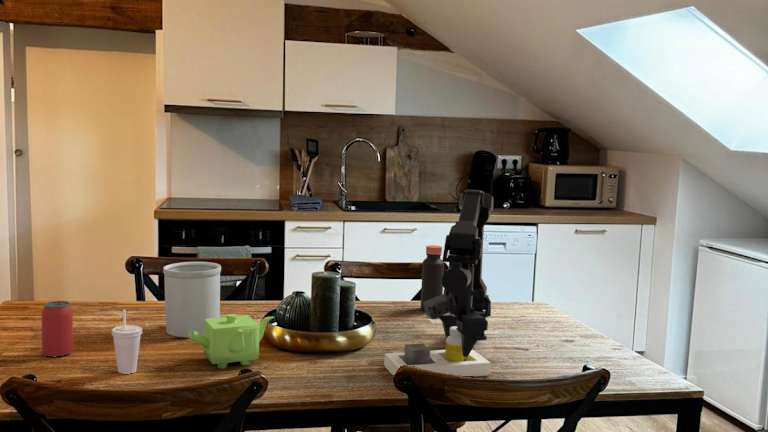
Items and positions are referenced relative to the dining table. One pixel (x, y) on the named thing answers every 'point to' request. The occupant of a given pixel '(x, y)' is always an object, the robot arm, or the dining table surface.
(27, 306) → the dining table surface
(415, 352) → the seated peg
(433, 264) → the vinegar
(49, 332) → the beer can
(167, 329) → the utensil holder
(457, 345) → the supplement bottle
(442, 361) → the white flat block
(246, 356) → the kettle
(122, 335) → the smoothie
